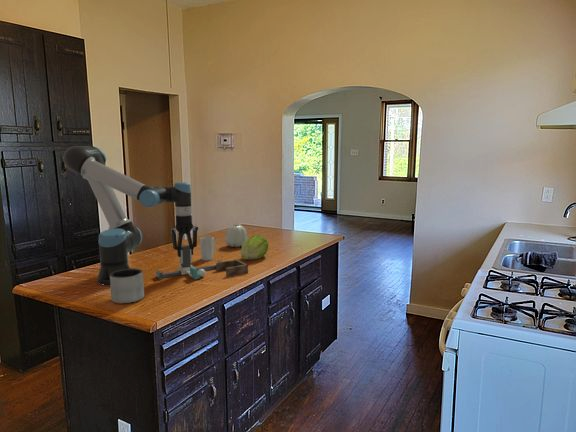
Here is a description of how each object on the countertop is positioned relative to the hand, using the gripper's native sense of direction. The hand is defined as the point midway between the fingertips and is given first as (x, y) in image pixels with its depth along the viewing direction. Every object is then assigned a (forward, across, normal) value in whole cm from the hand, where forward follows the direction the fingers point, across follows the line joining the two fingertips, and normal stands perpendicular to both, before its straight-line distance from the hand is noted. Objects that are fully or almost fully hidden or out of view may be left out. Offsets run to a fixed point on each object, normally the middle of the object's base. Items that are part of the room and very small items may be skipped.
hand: (185, 262), depth 203 cm
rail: (+6, +3, 0) cm, 6 cm away
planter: (+6, -32, -21) cm, 39 cm away
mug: (+6, +21, +20) cm, 29 cm away
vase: (+6, +46, +38) cm, 61 cm away
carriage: (+5, 0, -5) cm, 7 cm away
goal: (+6, +19, -10) cm, 22 cm away
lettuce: (+6, +41, +6) cm, 42 cm away
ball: (+4, +4, -10) cm, 11 cm away
